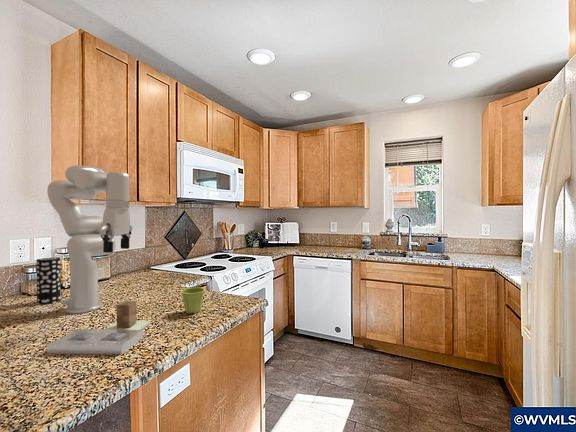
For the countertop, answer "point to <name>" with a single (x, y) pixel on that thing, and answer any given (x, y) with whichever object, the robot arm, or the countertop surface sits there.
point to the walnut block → (126, 314)
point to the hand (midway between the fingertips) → (116, 250)
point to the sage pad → (137, 326)
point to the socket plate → (96, 341)
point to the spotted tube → (48, 281)
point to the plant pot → (193, 299)
